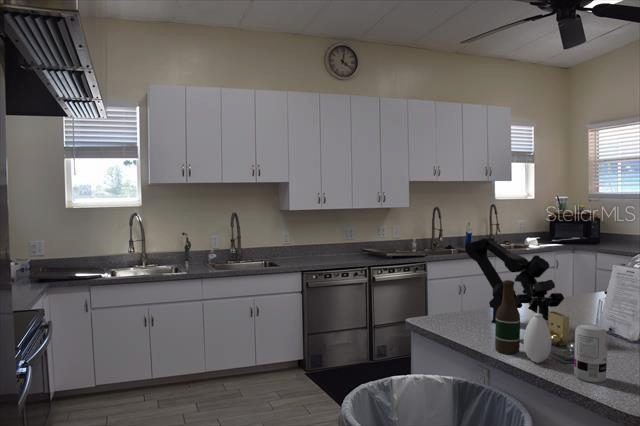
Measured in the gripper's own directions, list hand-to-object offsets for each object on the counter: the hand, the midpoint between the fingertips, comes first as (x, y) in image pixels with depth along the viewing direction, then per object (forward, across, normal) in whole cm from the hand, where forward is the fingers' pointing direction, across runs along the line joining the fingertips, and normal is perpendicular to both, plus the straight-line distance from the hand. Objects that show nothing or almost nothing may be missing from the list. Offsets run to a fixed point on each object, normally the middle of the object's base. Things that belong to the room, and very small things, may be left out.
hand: (547, 320), depth 186 cm
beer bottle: (+12, -22, -2) cm, 26 cm away
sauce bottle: (+21, -19, -10) cm, 30 cm away
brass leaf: (+9, -2, 0) cm, 9 cm away
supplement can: (+32, -13, -21) cm, 40 cm away
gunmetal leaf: (+19, -6, -9) cm, 22 cm away
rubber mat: (+14, -4, -3) cm, 15 cm away
